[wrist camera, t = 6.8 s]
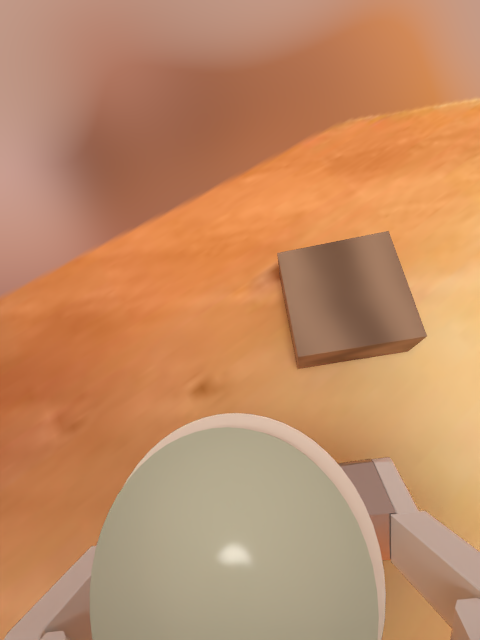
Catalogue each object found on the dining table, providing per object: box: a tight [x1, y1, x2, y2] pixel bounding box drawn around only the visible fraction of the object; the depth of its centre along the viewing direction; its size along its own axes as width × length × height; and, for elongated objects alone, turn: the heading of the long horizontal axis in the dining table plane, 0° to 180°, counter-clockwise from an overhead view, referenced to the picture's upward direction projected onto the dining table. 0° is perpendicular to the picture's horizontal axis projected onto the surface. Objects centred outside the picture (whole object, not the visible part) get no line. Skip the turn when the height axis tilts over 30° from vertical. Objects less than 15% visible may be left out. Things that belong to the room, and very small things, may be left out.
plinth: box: [277, 231, 427, 369], centre depth 26 cm, size 9×9×4 cm
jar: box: [90, 413, 386, 640], centre depth 9 cm, size 5×5×10 cm
